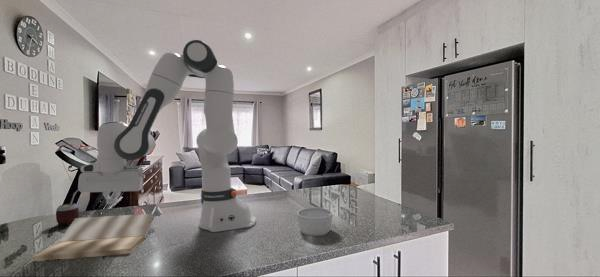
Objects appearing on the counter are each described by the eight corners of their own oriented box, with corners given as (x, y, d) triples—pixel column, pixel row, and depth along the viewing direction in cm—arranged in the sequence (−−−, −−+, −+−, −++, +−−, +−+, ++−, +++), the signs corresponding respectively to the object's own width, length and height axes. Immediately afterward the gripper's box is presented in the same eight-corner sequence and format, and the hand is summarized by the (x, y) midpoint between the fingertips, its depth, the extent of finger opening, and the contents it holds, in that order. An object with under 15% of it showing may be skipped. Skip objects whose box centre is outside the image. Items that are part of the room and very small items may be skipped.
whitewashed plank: (153, 216, 101) (153, 213, 100) (145, 238, 92) (144, 235, 92) (76, 221, 96) (75, 218, 95) (60, 244, 88) (58, 241, 87)
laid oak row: (143, 240, 91) (143, 235, 91) (130, 253, 81) (130, 248, 81) (57, 247, 87) (57, 242, 87) (32, 261, 77) (32, 256, 77)
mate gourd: (55, 224, 108) (54, 188, 108) (80, 219, 114) (79, 185, 113) (56, 229, 103) (55, 191, 103) (82, 224, 108) (81, 187, 108)
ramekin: (301, 239, 91) (301, 219, 91) (293, 226, 104) (293, 208, 104) (337, 235, 94) (337, 216, 94) (325, 223, 107) (325, 206, 107)
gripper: (146, 164, 102) (146, 200, 102) (86, 165, 98) (86, 202, 98) (139, 166, 95) (139, 204, 95) (75, 167, 92) (75, 206, 92)
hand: (111, 203), depth 97 cm, fingers closed
